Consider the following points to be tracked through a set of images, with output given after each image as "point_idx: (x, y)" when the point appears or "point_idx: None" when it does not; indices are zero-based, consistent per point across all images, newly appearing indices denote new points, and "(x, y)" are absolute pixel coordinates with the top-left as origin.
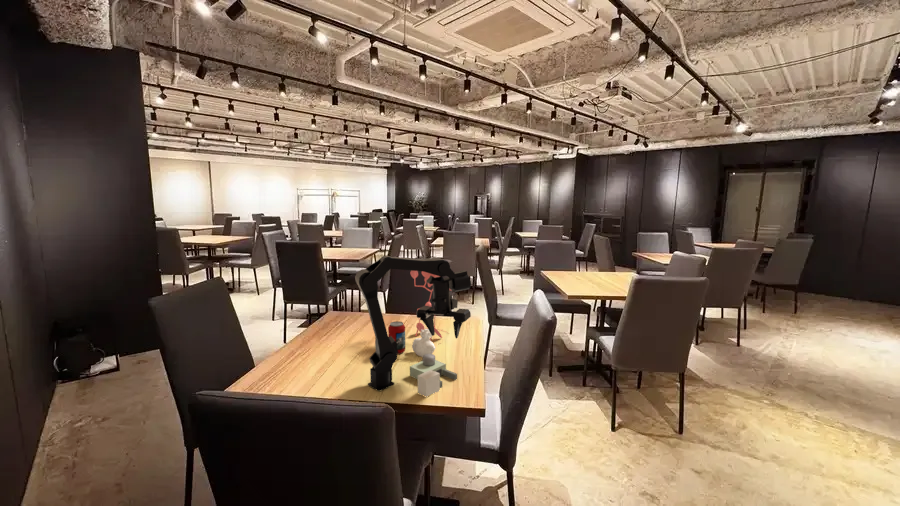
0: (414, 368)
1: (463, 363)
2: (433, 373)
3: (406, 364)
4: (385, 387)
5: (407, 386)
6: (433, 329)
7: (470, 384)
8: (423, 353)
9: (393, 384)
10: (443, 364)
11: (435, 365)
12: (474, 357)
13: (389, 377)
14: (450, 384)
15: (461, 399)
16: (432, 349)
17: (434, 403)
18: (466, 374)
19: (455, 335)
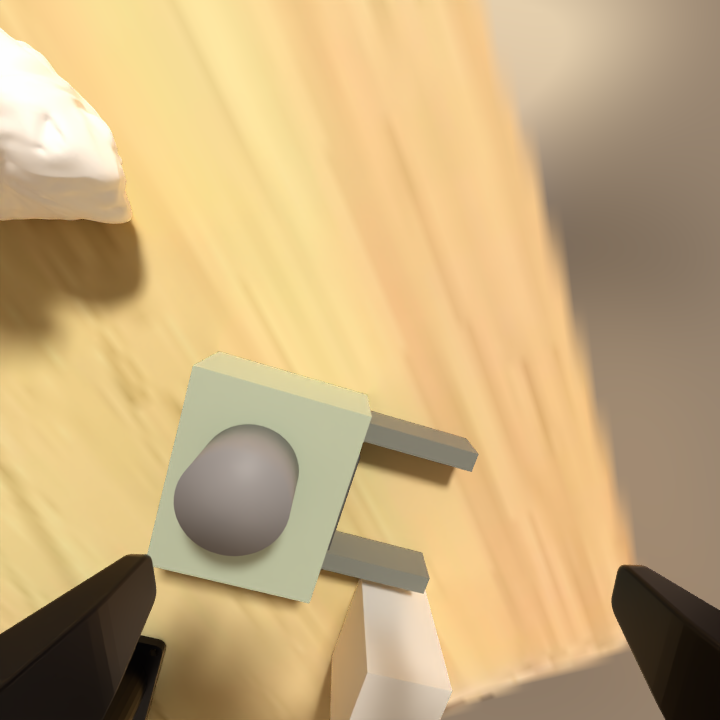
0: (196, 576)
1: (419, 187)
2: (413, 711)
3: (44, 388)
4: (150, 701)
5: (242, 623)
6: (64, 680)
7: (561, 461)
8: (51, 214)
9: (163, 652)
10: (359, 433)
11: (310, 473)
12: (463, 23)
13: (120, 702)
14: (452, 508)
15: (561, 614)
16: (110, 194)
17: (452, 693)
18: (499, 351)
19: (668, 697)
